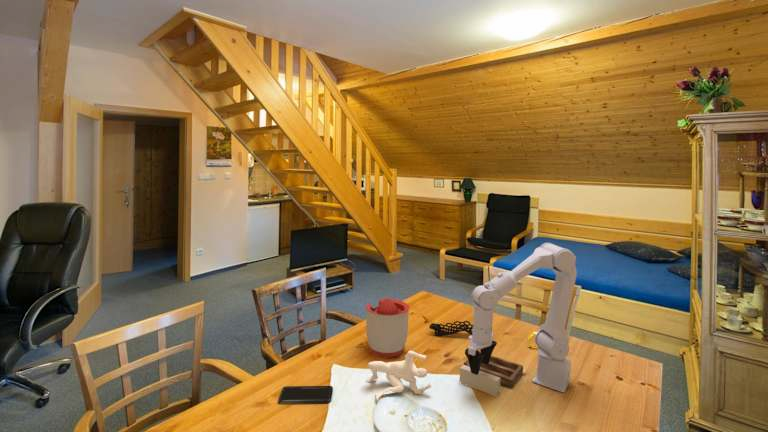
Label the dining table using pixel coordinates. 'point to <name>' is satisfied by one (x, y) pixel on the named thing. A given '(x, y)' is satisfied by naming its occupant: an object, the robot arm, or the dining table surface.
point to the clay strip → (480, 380)
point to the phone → (306, 395)
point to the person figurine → (399, 373)
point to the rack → (502, 370)
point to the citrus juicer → (387, 327)
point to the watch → (530, 338)
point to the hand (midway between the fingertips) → (479, 368)
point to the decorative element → (442, 332)
